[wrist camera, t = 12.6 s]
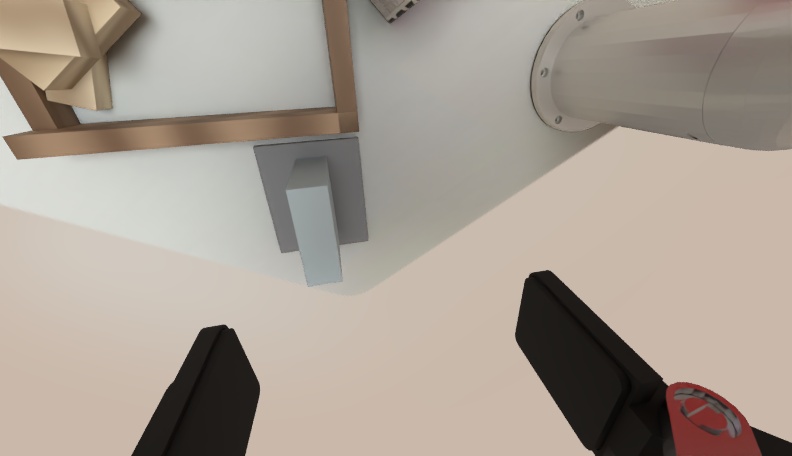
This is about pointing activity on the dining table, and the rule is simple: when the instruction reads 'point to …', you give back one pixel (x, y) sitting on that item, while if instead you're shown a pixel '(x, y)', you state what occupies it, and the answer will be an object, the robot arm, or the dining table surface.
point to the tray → (67, 136)
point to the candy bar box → (393, 7)
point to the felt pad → (343, 179)
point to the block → (315, 220)
